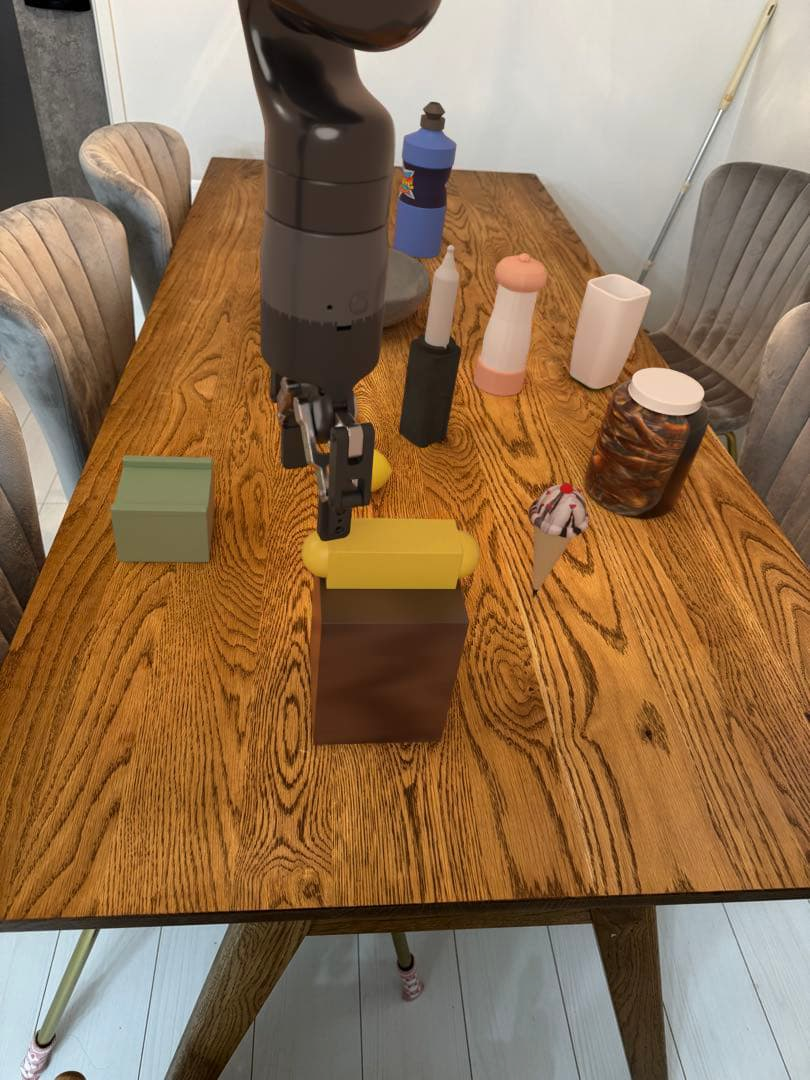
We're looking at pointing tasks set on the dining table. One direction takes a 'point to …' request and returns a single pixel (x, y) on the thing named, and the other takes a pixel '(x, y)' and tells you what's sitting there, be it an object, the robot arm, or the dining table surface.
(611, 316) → the cup
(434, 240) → the water bottle
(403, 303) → the bowl
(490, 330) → the salt shaker
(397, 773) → the dining table surface
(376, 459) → the lemon
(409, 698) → the block
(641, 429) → the jar
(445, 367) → the candle
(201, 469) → the block
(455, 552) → the yellow ball-topped peg
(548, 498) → the ice cream cone
